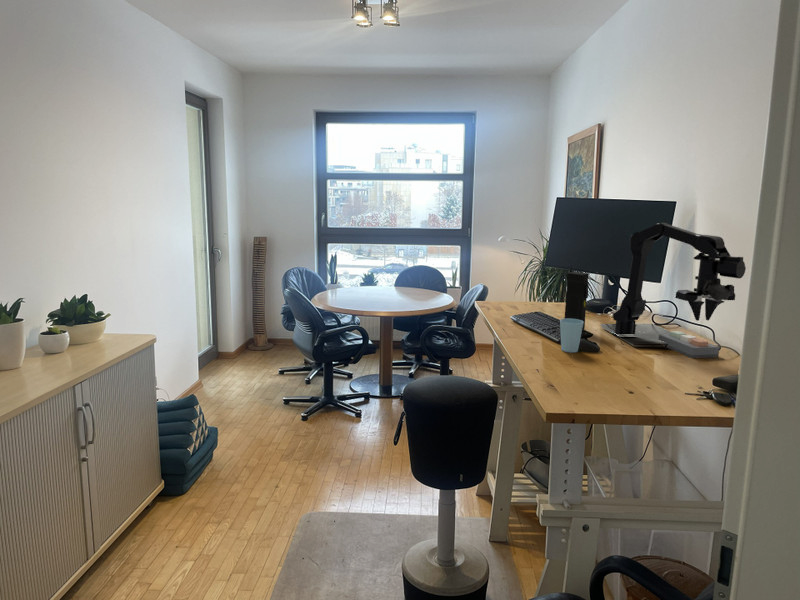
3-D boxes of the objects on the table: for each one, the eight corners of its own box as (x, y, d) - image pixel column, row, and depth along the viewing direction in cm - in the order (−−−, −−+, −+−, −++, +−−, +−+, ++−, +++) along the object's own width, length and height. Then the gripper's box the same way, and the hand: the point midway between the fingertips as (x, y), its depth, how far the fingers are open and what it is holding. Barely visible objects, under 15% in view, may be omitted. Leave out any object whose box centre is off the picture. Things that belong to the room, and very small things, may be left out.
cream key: (686, 344, 199) (687, 337, 199) (679, 342, 203) (680, 335, 202) (695, 344, 200) (696, 337, 199) (688, 341, 203) (689, 334, 203)
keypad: (692, 358, 192) (693, 348, 191) (658, 343, 209) (659, 334, 209) (718, 357, 194) (719, 347, 193) (682, 343, 211) (683, 333, 211)
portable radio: (587, 330, 228) (593, 267, 223) (580, 332, 224) (586, 268, 219) (569, 326, 233) (574, 265, 228) (562, 328, 229) (567, 266, 224)
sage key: (676, 340, 204) (677, 333, 204) (669, 338, 208) (670, 331, 207) (685, 340, 205) (686, 333, 205) (678, 337, 209) (679, 331, 208)
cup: (564, 353, 193) (567, 323, 192) (553, 347, 201) (556, 318, 199) (585, 353, 195) (587, 323, 193) (573, 347, 203) (576, 318, 201)
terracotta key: (697, 349, 194) (698, 342, 193) (690, 346, 197) (691, 339, 197) (707, 348, 195) (708, 341, 194) (699, 346, 198) (700, 338, 198)
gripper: (700, 278, 182) (694, 326, 184) (751, 277, 185) (744, 325, 188) (677, 273, 192) (671, 318, 195) (725, 272, 196) (719, 317, 199)
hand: (702, 320), depth 194 cm, fingers open, 4 cm apart
